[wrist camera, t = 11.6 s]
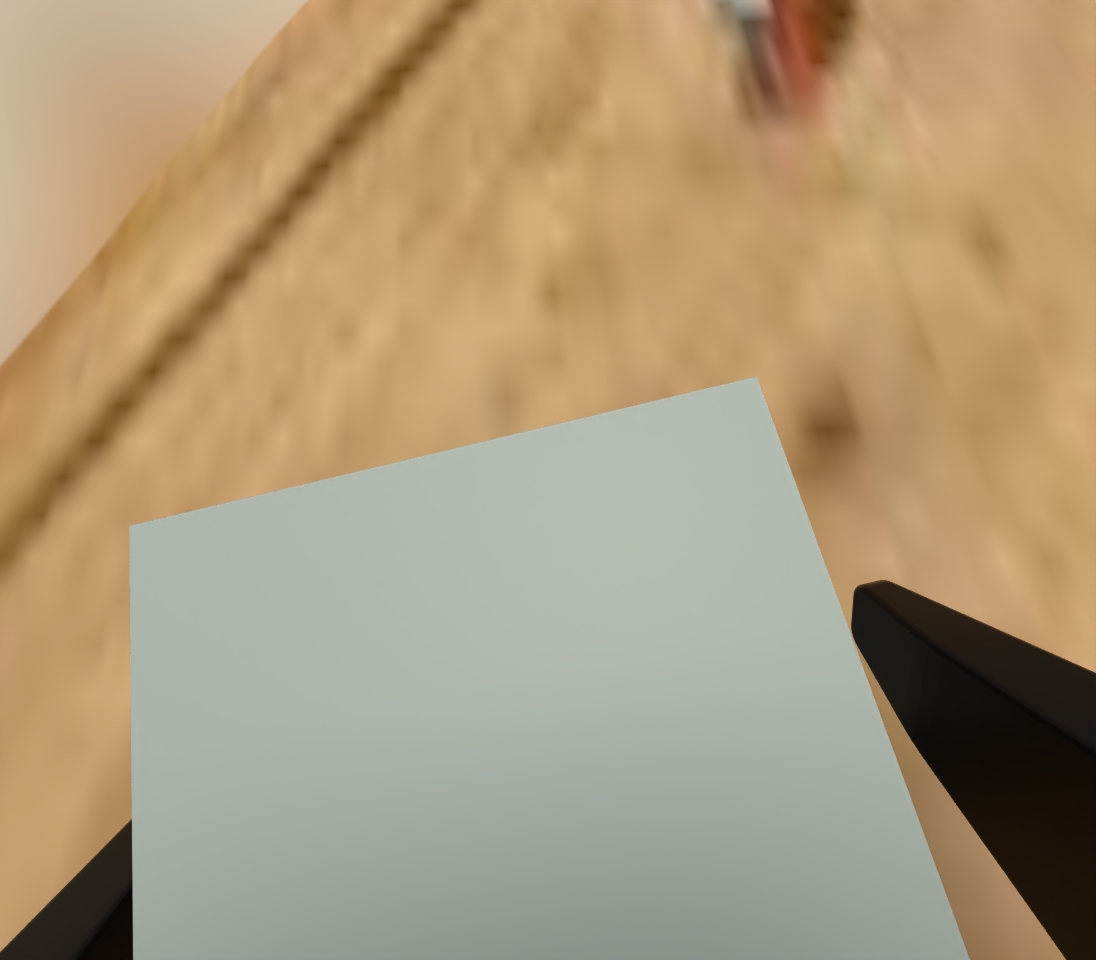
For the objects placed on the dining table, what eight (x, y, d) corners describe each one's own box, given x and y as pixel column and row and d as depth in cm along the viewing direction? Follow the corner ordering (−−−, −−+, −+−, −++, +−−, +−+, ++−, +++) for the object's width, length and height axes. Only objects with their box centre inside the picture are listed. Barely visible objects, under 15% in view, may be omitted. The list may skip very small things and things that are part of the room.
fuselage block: (673, 738, 15) (1069, 1229, 3) (511, 776, 15) (138, 1428, 3) (630, 575, 16) (755, 377, 4) (480, 610, 16) (128, 525, 4)
